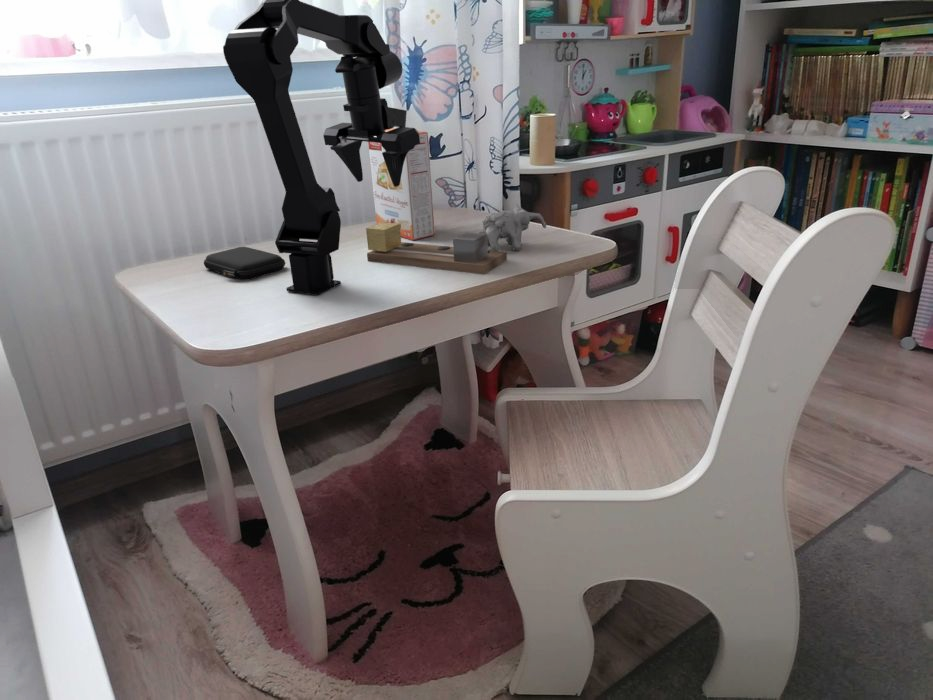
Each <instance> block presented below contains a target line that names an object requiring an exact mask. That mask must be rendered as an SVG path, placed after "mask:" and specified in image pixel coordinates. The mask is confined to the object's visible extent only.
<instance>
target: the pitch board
mask: <svg viewBox="0 0 933 700" xmlns="http://www.w3.org/2000/svg"><path fill="white" fill-rule="evenodd" d="M452 245H453V246H446V245H439V244H438V245H437V244H426V243H417V242H416V243H415V242H407V241H405V242H403V241H401V245H400V246H398V247H396V248H393V249H391V250H389V251H387V252H385V251H375V250H370V251H367V253H366V258H367V262H373V263H383V264H391V265H397V266H398V265H400V266H406V267H407V266H408V267H416V268H418V267H419V268H424V269H425V268H426V269H427V268H428V269H437V270H445V271H452V272H463V273H470V274H471V273H472V274H479V275H485V274H487V273H488V272H490V271H492V270H493V269H495V268H496V267H498V266H501V264H503V263H504V262H506V261H507V260H508V255H507V254H508V253H507V251H502V250H499V251H492V250H491V249H490V250H489V249H488V248H489V247H488V246H489V245H487V234H486V232H483V231H480V232H475V231H474V232H471V231H466V232H464V233H462V234H460V235H458V236H456V237H453V238H452Z"/></svg>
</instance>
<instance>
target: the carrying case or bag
mask: <svg viewBox="0 0 933 700" xmlns="http://www.w3.org/2000/svg"><path fill="white" fill-rule="evenodd" d="M285 265H286V261H285V259H284V258H282V257H281V256H280V255H278V254H275V253H271V252H268V251H265V250H260V249H257V248H252V247H247V246H238V247H234V248H231V249H230V248H229V249H226V250H222V251H218V252H214V253H210V254H208V255H207V256H206V257H205V259H204V261H203V266H204V267H205V268H206V269H208V270H210V271H212V270H213V272H215V271H216V273H218V272H219V274H221V275H223V276H224V277H232V278H235V279H238V280H242V281H248V280H254V279H257V278H260V277H263V276H267V275H270V274H274V273H278V272H280V271H282V270H284V267H285Z"/></svg>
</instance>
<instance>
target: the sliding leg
mask: <svg viewBox="0 0 933 700" xmlns="http://www.w3.org/2000/svg"><path fill="white" fill-rule="evenodd" d="M400 228H401V223H396V222H395V223H385V222H381V223H378V224H377V223H376V224H374V225H371V226H368V227H366V228H365V231H366V242H367V249H368V251H373V250H375V251H385V252H387V251H389V250H391V249H393V248H396V247H398V246H400V245H401V242H402V237H401V234H400Z"/></svg>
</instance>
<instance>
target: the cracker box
mask: <svg viewBox="0 0 933 700" xmlns="http://www.w3.org/2000/svg"><path fill="white" fill-rule="evenodd" d="M393 129H396V127H394V128H392V129H389V130H388V129H387V130H385V132H388V131H390V130H393ZM417 131H418V132H419V138H420V144H418V145H415V147H414V149H412V150H409V152H408V153H407V155H406V157H405V161H404V164H403V169H402V175H401V180H400V185H399V186H397V187H394V185H393V183H392V181H391V178H390V175H389V172H388V169H387V166H386V163H385V160H384V158H383V155H382V152H385V149H384V148H383V147H382V145H381V143H377V142H367V143H368V153H369V161H370V162H369V163H370V170H371V171H370V173H371V181H372V183H371V184H372V192H373V201H374V202H373V203H374V211H375V221H376V222H375V223H376V224H378V223H381V222H385V223H395V222H396V223H401V228H400V234H401V238H404V239H407V240H410V241H413V242H414V241H418V240H422V239H424V238H429V237H433V236H435V234H436V233H435V220H434V217H435V216H434V205H433V192H432V191H433V190H432V189H433V188H432V176H431V175H432V174H431V161H430V160H431V159H430V158H431V157H430V146H429V133H428V131H421V130H417ZM374 137H377V136H374Z"/></svg>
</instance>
